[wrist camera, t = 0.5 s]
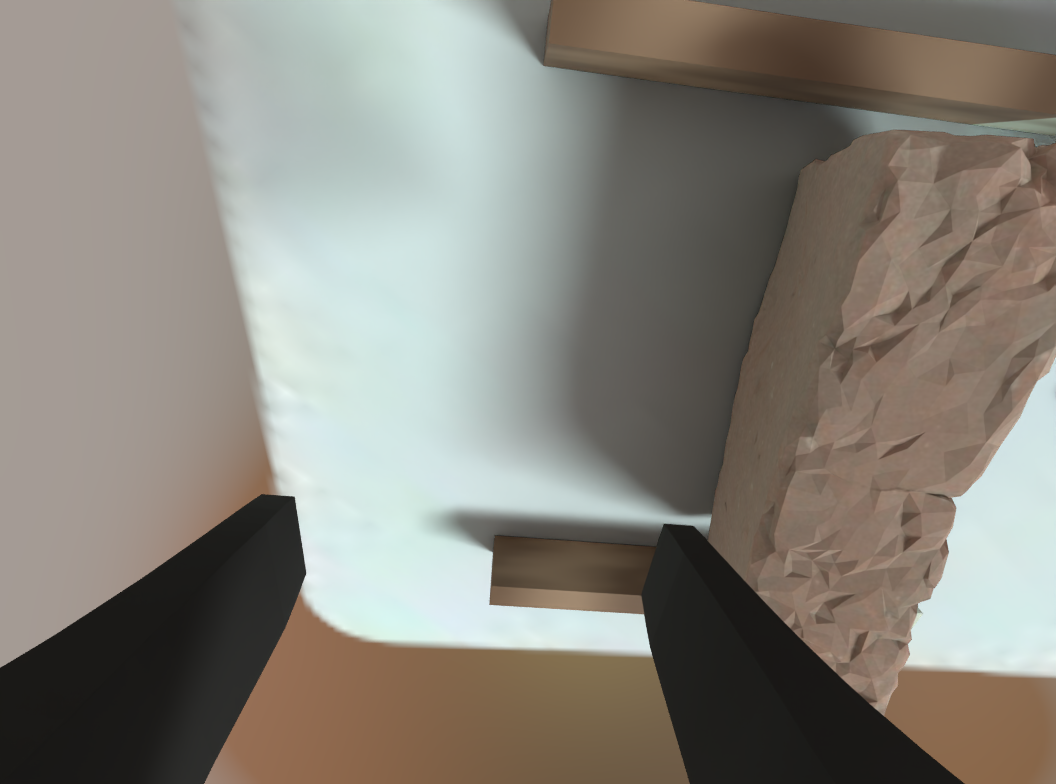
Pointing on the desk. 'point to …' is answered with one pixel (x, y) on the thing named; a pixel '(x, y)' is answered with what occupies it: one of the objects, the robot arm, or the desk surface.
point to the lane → (774, 71)
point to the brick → (885, 382)
